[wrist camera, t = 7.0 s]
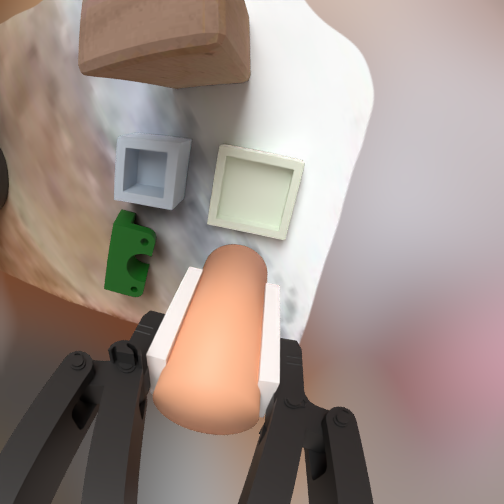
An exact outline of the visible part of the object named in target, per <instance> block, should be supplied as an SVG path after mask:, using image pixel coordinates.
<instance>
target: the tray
mask: <svg viewBox="0 0 504 504" xmlns="http://www.w3.org/2000/svg"><path fill="white" fill-rule="evenodd" d="M304 165H305V163H304V162H303V160H299V159H295V158H291V157H287V156H282V155H278V154H273V153H268V152H264V151H259V150H254V149H249V148H243V147H238V146H233V145H227V144H222V145H220V146H219V151H218V157H217V163H216V169H215V175H214V181H213V188H212V194H211V201H210V207H209V214H208V221H207V224H208V225H213V226H218V227H223V228H228V229H233V230H238V231H243V232H248V233H252V234H257V235H262V236H267V237H271V238H276V239H281V240H285V238H286V234H287V231H288V227H289V223H290V219H291V216H292V212H293V208H294V204H295V200H296V196H297V192H298V188H299V185H300V181H301V177H302V173H303V169H304Z"/></svg>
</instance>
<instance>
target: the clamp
mask: <svg viewBox="0 0 504 504" xmlns="http://www.w3.org/2000/svg"><path fill="white" fill-rule="evenodd" d="M135 215H136V213H133V212H130V211H126V210H121V211H120V213H119V215H118V217H117V218H116V220H115V222H114V224H113V229H112V235H111V241H110V247H109V254H108V261H107V268H106V277H105V286H104V289H106V290H110V291H113V292H117V293H121V294H125V295H128V296H132V297H139V296H141V295H142V294H143V291H144V286H145V282H146V277H147V273H148V268H149V264H146V263H143V262H140V261H139V260H138V259H137V258H136V257H135V256H134V255H136V254H146V255H149V256H151V257H152V253H153V249H154V245H155V241H156V234H155V232H154V231H153V230H152V229H150V228H147V227H143V226H140V225H136V224H134V219H135Z"/></svg>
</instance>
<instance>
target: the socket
mask: <svg viewBox="0 0 504 504" xmlns="http://www.w3.org/2000/svg"><path fill="white" fill-rule="evenodd" d="M191 143H192V139H188V138H181V137H173V136H164V135H155V134H145V133H132V134H127V135H123V136H118V138H117V150H116V164H115V186H114V200H119V201H124V202H130V203H136V204H141V205H147V206H152V207H157V208H163V209H168V210H173V209H174V208H175V207H176V206H177V205H178V204H179V203H180V202H181V201H182V200H183V199H184V195H185V187H186V179H187V171H188V164H189V157H190V150H191Z"/></svg>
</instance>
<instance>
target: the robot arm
mask: <svg viewBox="0 0 504 504" xmlns="http://www.w3.org/2000/svg"><path fill="white" fill-rule="evenodd" d="M7 192H8V172H7V166H6V162H5V159H4V156H3V153H2V151H1V149H0V209H1V208H2V206H3V205H4V203H5V201H6V197H7ZM202 273H203V269H198V268H194V267H189V268H188V270H187V272H186V274H185V276H184V278H183V280H182V282H181V284H180V286H179V288H178V290H177V292H176V294H175V296H174V298H173V300H172V302H171V304H170V306H169V308H168V310H167V312H166V314H162V313H158V312H154V311H149V312H148V313H147V314H145V315H144V316H143V317H142V319H141V321H140V322H139V325H138V326H137V328H136V330H135V331H134V333H133V335H132V337H131V339H130V340H129V341H127V340H121V341H117V342H115V343H114V344H112V345H111V346H110V348H109V349H108V351H109V355H110V361H95V360H92V358H91V357H90V355H88V354H87V353H85V352H82V351H75V352H72V353H70V354H69V355H67V356H66V357H65V359H64V360H63V361H62V363H61V364H60V365H59V367H58V368H57V369H56V371H55V372H54V373H53V375H52V376H51V377H50V379H49V380H48V382H47V383H46V384H45V386H44V387H43V389H42V390H41V391H40V393H39V394H38V396H37V397H36V398H35V400H34V401H33V403H32V404H31V406H30V407H29V409H28V411H27V412H26V413H25V415H24V416H23V418H22V419H21V421H20V423H19V424H18V426H17V427H16V429H15V430H14V432H13V433H12V435H11V437H10V438H9V440H8V442H7V443H6V445H5V446H4V448H3V450H2V452H1V453H0V504H51V502H52V500H53V498H54V496H55V494H56V492H57V489H58V487H59V485H60V483H61V481H62V479H63V477H64V475H65V473H66V471H67V469H68V467H69V465H70V463H71V461H72V459H73V457H74V455H75V454H76V452H77V450H78V448H79V446H80V444H81V442H82V440H83V438H84V437H85V435H86V433H87V431H88V429H89V427H90V425H91V423H92V422H93V420H94V418H95V416H96V415H97V413H98V415H97V418H96V422H95V427H94V431H93V436H92V441H91V446H90V451H89V456H88V462H87V467H86V474H85V479H84V486H83V493H82V501H81V504H137V494H138V481H139V480H138V479H139V468H140V457H141V447H142V439H143V431H144V423H145V415H146V408H147V394H148V391H149V389H150V392H151V393H152V394H153V393H154V390H155V387H156V384H157V382H158V379H159V376H160V374H161V372H162V370H163V368H164V367H165V366H166V364H167V362H168V359H169V356H170V354H171V351H172V349H173V346H174V343H175V341H176V338H177V336H178V333H179V331H180V328H181V326H182V323H183V321H184V318H185V315H186V313H187V311H188V308H189V306H190V303H191V301H192V298H193V296H194V293H195V291H196V288H197V286H198V284H199V281H200V279H201V276H202ZM258 387H259V389H260V393H261V397H260V412H259V417H264V415H265V413H266V415H265V423H264V425H263V427H262V428H261V430H260V432H259V434H260V437H259V440H258V443H257V447H256V450H255V453H254V456H253V459H252V463H251V466H250V469H249V472H248V475H247V478H246V481H245V484H244V487H243V490H242V493H241V496H240V499H239V502H238V504H290V502H291V498H292V494H293V489H294V485H295V480H296V475H297V471H298V466H299V461H300V456H301V451H302V447H303V448H304V450H305V462H306V472H307V483H308V496H309V504H373V498H372V493H371V488H370V482H369V477H368V472H367V467H366V462H365V458H364V453H363V448H362V443H361V439H360V434H359V430H358V426H357V422H356V418H355V416H354V414H353V413H352V412H351V411H350V410H348V409H346V408H345V407H334V408H332V409H331V410H326V409H324V408H320V407H318V406H316V405H314V404H313V403H311V402H310V401H309V400H308V398H307V397H306V395H305V392H304V381H303V367H302V351H301V347H300V346H299V344H298V342H297V341H295V340H289V339H283V338H280V285H275V284H270V283H266V285H265V289H264V304H263V319H262V333H261V346H260V360H259V372H258Z"/></svg>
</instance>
